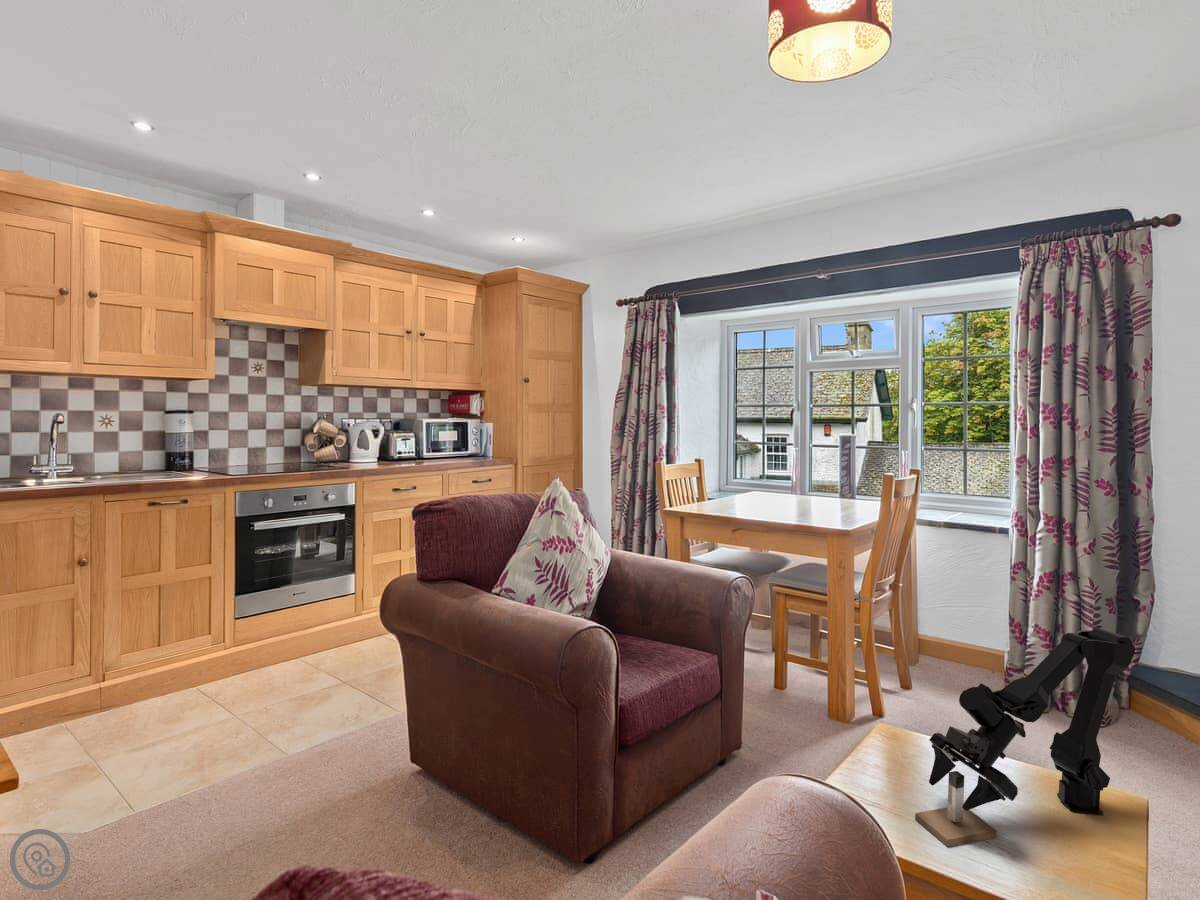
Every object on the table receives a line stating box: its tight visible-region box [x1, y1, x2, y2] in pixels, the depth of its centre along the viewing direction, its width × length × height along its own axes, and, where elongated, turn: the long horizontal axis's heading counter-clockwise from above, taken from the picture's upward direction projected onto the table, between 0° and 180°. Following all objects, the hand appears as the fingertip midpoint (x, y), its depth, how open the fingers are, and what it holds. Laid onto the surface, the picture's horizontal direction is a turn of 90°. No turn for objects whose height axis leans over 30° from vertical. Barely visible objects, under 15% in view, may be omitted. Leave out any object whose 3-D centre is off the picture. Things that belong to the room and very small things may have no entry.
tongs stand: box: [914, 770, 998, 848], centre depth 138 cm, size 12×9×12 cm
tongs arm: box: [951, 772, 965, 822], centre depth 137 cm, size 2×1×10 cm, turn 105°
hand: (946, 796), depth 138 cm, fingers open, 9 cm apart
